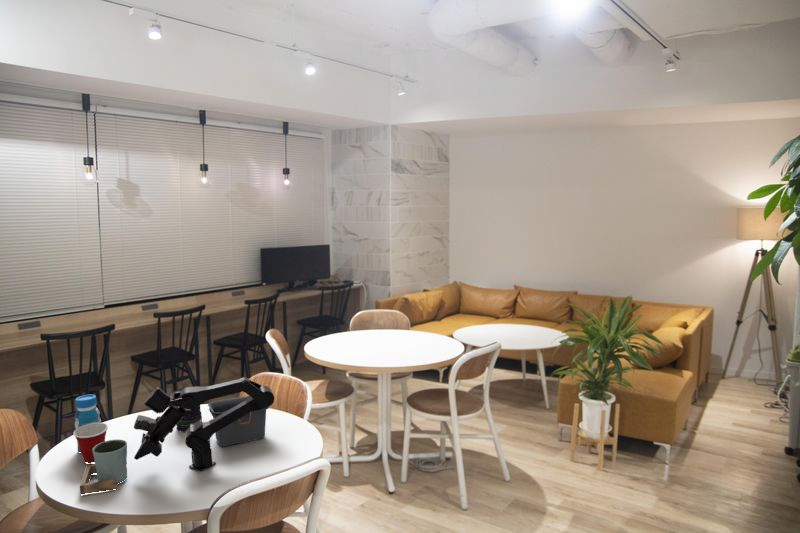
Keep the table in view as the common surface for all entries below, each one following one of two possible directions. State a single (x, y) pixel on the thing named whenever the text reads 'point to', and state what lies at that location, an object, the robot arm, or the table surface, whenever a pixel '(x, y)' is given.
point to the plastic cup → (90, 438)
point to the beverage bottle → (86, 411)
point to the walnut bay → (95, 486)
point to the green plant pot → (111, 460)
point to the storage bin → (239, 423)
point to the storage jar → (194, 417)
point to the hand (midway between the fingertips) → (135, 458)
